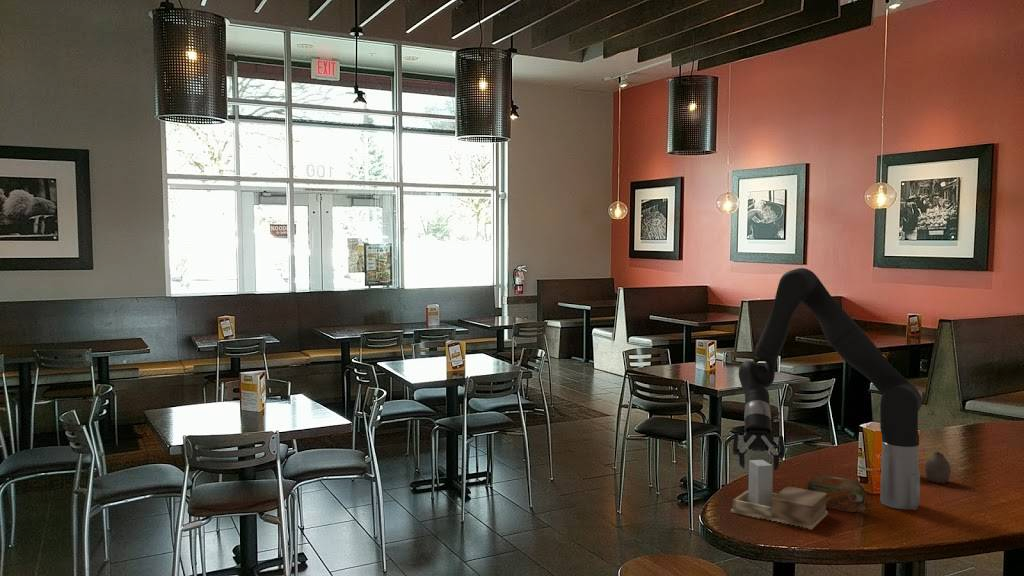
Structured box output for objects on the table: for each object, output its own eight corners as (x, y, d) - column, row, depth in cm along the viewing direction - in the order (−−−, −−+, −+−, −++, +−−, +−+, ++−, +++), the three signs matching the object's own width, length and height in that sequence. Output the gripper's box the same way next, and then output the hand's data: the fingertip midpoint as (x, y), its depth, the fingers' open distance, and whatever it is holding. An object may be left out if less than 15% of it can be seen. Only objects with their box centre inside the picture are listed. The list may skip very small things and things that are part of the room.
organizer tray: (827, 514, 203) (827, 492, 202) (811, 529, 192) (812, 506, 191) (749, 498, 215) (750, 478, 215) (730, 512, 204) (731, 491, 204)
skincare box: (772, 509, 204) (773, 465, 204) (757, 510, 204) (758, 466, 203) (762, 502, 210) (762, 459, 210) (747, 502, 210) (748, 459, 209)
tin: (806, 503, 212) (807, 473, 211) (810, 500, 214) (811, 471, 214) (863, 515, 202) (864, 484, 201) (867, 512, 204) (868, 481, 204)
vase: (926, 483, 229) (926, 454, 229) (923, 477, 235) (924, 449, 235) (952, 486, 226) (953, 457, 226) (948, 479, 233) (949, 451, 232)
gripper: (732, 411, 225) (733, 459, 215) (784, 413, 221) (786, 463, 211) (732, 424, 230) (732, 473, 220) (782, 427, 227) (784, 476, 216)
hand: (759, 468), depth 215 cm, fingers open, 8 cm apart
